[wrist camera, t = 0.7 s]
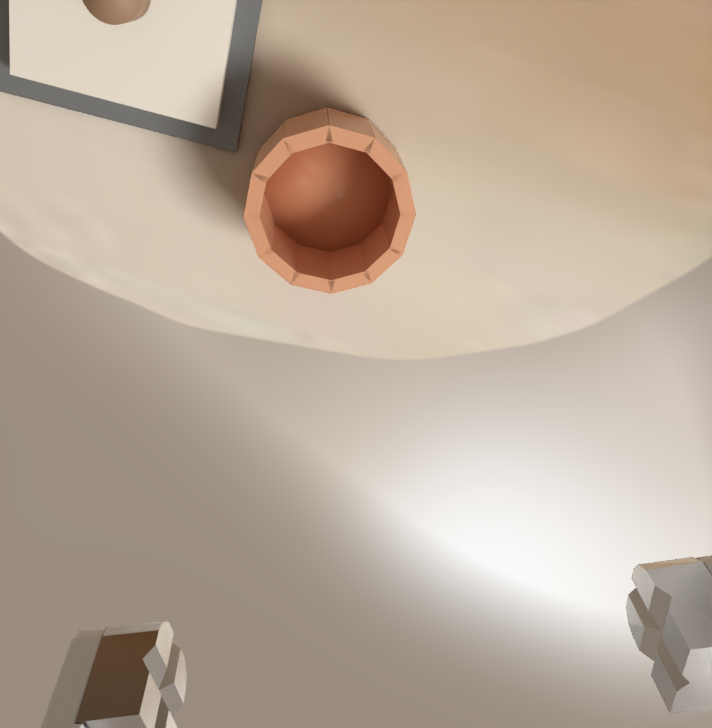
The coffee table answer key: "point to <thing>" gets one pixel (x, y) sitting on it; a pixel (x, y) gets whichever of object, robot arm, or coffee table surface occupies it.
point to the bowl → (329, 201)
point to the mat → (219, 137)
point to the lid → (128, 51)
